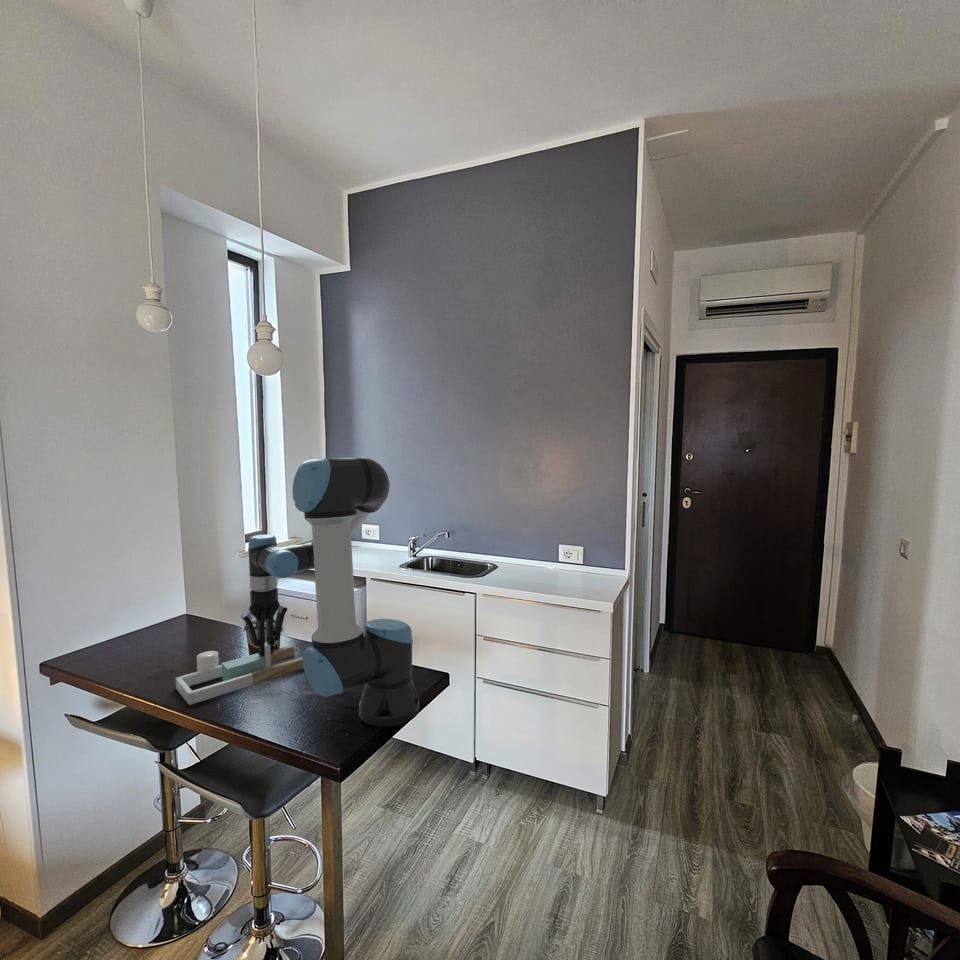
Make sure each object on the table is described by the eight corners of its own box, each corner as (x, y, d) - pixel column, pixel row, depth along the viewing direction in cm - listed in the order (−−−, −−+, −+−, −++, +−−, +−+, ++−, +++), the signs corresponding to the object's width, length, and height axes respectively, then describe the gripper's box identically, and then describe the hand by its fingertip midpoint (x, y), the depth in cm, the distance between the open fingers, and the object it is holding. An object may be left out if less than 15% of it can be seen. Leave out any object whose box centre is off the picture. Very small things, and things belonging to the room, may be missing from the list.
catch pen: (252, 684, 149) (252, 674, 149) (189, 705, 138) (188, 694, 138) (236, 670, 158) (236, 660, 158) (175, 688, 147) (175, 677, 147)
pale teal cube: (246, 680, 152) (246, 663, 151) (228, 686, 148) (227, 669, 148) (240, 674, 155) (239, 658, 155) (222, 680, 152) (221, 663, 151)
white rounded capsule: (221, 674, 155) (221, 655, 155) (200, 681, 151) (200, 660, 151) (215, 668, 159) (214, 649, 159) (195, 674, 155) (194, 654, 155)
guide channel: (309, 666, 161) (309, 657, 161) (252, 684, 149) (252, 674, 149) (292, 654, 170) (292, 645, 169) (236, 670, 158) (236, 660, 158)
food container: (290, 649, 174) (289, 619, 173) (281, 657, 168) (281, 626, 167) (254, 647, 175) (253, 617, 174) (244, 655, 169) (243, 624, 168)
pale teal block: (264, 675, 155) (263, 658, 155) (246, 680, 152) (245, 663, 151) (257, 669, 159) (257, 653, 158) (240, 674, 155) (239, 658, 155)
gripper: (280, 580, 163) (282, 655, 165) (236, 589, 154) (239, 668, 156) (291, 586, 157) (293, 663, 160) (245, 595, 149) (248, 676, 151)
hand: (266, 665), depth 158 cm, fingers closed
